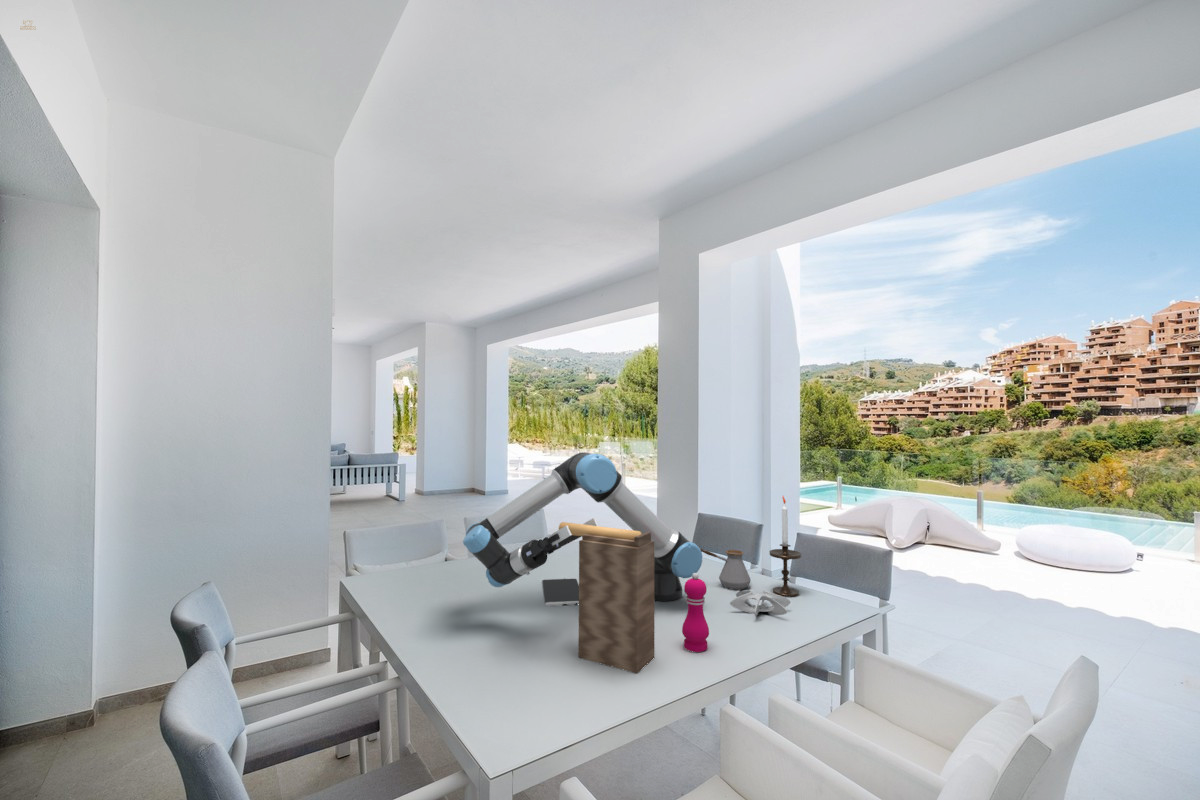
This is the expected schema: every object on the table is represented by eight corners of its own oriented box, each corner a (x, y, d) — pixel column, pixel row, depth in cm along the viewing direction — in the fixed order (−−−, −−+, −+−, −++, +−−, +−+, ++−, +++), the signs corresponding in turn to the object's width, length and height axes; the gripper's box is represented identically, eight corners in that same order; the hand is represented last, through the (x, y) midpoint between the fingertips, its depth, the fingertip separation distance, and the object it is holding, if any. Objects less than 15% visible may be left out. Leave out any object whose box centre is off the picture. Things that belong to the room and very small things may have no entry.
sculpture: (726, 618, 166) (726, 597, 166) (739, 599, 184) (738, 581, 184) (785, 627, 158) (785, 606, 158) (792, 607, 176) (792, 587, 176)
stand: (578, 657, 137) (579, 531, 139) (598, 643, 146) (598, 525, 147) (636, 673, 128) (637, 538, 130) (654, 658, 137) (654, 531, 138)
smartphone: (544, 608, 176) (545, 603, 176) (541, 583, 202) (541, 579, 202) (584, 606, 178) (584, 601, 178) (576, 582, 204) (576, 577, 204)
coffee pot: (743, 581, 205) (742, 542, 205) (756, 590, 193) (755, 549, 194) (689, 583, 201) (689, 543, 202) (699, 593, 190) (699, 551, 191)
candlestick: (763, 590, 193) (762, 494, 195) (786, 587, 198) (785, 492, 199) (784, 599, 184) (783, 498, 185) (808, 595, 188) (807, 496, 189)
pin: (558, 534, 146) (558, 523, 146) (565, 532, 149) (565, 521, 149) (636, 545, 134) (636, 532, 134) (641, 542, 136) (641, 530, 137)
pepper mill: (703, 655, 139) (703, 578, 140) (677, 649, 142) (677, 574, 143) (713, 645, 145) (712, 571, 146) (688, 640, 149) (688, 568, 149)
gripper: (559, 559, 162) (611, 531, 153) (505, 580, 141) (562, 548, 132) (550, 536, 165) (600, 507, 156) (495, 553, 143) (550, 520, 134)
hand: (583, 526), depth 144 cm, fingers open, 13 cm apart
